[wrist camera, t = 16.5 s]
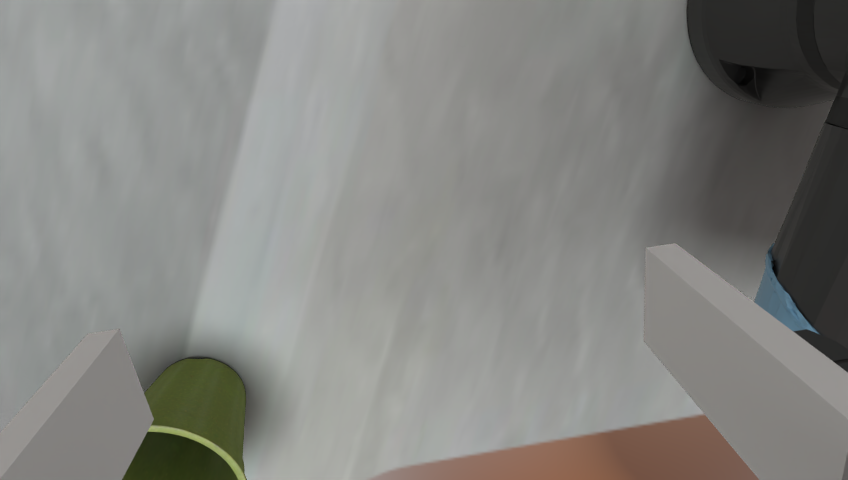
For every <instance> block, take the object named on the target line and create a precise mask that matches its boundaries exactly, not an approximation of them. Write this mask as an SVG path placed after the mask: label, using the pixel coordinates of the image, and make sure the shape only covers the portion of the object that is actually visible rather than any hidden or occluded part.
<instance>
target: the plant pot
mask: <svg viewBox="0 0 848 480" xmlns="http://www.w3.org/2000/svg"><path fill="white" fill-rule="evenodd" d="M144 394H145V397H146V400H147V402H148V405H149V408H150V410H151V413H152V415H153V418H154V420H153V422H152V424H151V426H150V428H149V430H148V432H147V434H146V435H145V437H144V439H143V441H142V443H141V445H140V447H139V449H138V450H137V452H136V454H135V456H134V458H133V460H132V462H131V464H130V465H129V467H128V469H127V471H126V473H125V475H124V477H123V479H122V480H247V479H246V477H245V474H244V462H243V458H242V457H243V440H244V421H245V406H246V393H245V388H244V384H243V382H242V380H241V379H240V377H239V376H238V375H237V374H236V372H235V371H233V370H232V369H231V368H230V367H228V366H227V365H225V364H223V363H221V362H218V361H216V360H212V359H184V360H181V361H179V362H177V363H174V364H172V365H171V366H169V367H168V368H167V369H166V370H165V371H164V372H163V373H162V374H161V375H160V376H159V377H158V378H157V379H156V381H155V382H154V383H153V384H152V385H151V386H150V387H149V388H148V390H147V391H146V392H145V393H144Z"/></svg>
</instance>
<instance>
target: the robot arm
mask: <svg viewBox="0 0 848 480" xmlns="http://www.w3.org/2000/svg"><path fill="white" fill-rule="evenodd" d="M688 29H689V36H690V40H691V44H692V48H693V51H694V53H695V56H696V58H697V60H698V62H699V64H700V66H701V68H702V69H703V71H704V72H705V74H706V75H707V76H708V77H709V79H710V80H711V81H712V82H713V83H714V84H715V85H716V86H718V87H719V88H720V89H721V90H723V91H724V92H726V93H727V94H729V95H731V96H733V97H735V98H738V99H740V100H743V101H747V102H751V103H755V104H760V105H764V106H769V107H779V108H792V107H802V106H808V105H812V104H817V103H821V102H826V101H830V100H834V99H835V100H834V102H833V105H832V107H831V110H830V112H829V115H828V117H827V120H826V121H825V122H824V125H823V127H822V130H821V132H820V135H819V137H818V140H817V142H816V145H815V147H814V150H813V152H812V155H811V157H810V159H809V162H808V164H807V167H806V169H805V172H804V174H803V177H802V179H801V182H800V184H799V187H798V189H797V192H796V194H795V196H794V199H793V201H792V204H791V206H790V209H789V211H788V214H787V216H786V218H785V221H784V223H783V225H782V228H781V230H780V232H779V234H778V237H777V239H776V241H775V243H773V244H772V245H771V247H770V248H769V251H768V253H767V255H766V260H765V264H766V268H765V271H764V274H763V277H762V281H761V284H760V287H759V289H758V292H757V295H756V298H755V301H754V302H753V301H752V300H751V299H749V298H748V297H747V296H745V295H744V294H743V293H741V292H740V291H739V290H737V289H736V288H735V287H733V286H732V285H731V284H729V283H728V282H727V281H725V280H724V279H723V278H721V277H720V276H719V275H717V274H716V273H715V272H713V271H712V270H711V269H709V268H708V267H707V266H705V265H704V264H703V263H701V262H700V261H699V260H697V259H696V258H695V257H693V256H692V255H691V254H689V253H688V252H687V251H685V250H684V249H683V248H681V247H680V246H679V245H677V244H676V243H672V244H666V245H659V246H653V247H646V254H645V301H644V342H645V343H646V345H647V346H648V347H649V348H650V349H651V351H652V352H653V353H654V354H655V355H656V357H657V358H658V359H659V360H660V361H661V363H662V364H663V365H664V366H665V367H666V369H667V370H668V371H669V372H670V373H671V374H672V376H673V377H674V378H675V379H676V380H677V382H678V383H679V384H680V385H681V386H682V388H683V389H684V390H685V391H686V392H687V394H688V395H689V396H690V397H691V398H692V400H693V401H694V402H695V403H696V404H697V406H698V407H699V408H700V409H701V410H702V412H703V413H704V414H705V415H706V416H707V418H708V419H709V420H710V421H711V422H712V423H713V425H714V426H715V427H716V428H717V430H718V431H719V432H720V433H721V434H722V435H723V437H724V438H725V439H726V440H727V442H728V443H729V444H730V445H731V446H732V447H733V449H734V450H735V451H736V452H737V453H738V455H739V456H740V457H741V458H742V459H743V461H744V462H745V463H746V464H747V465H748V467H749V468H750V469H751V470H752V471H753V472H754V474H755V475H756V476H757V477H758V478H759V480H848V0H688ZM153 420H154V418H153V415H152V413H151V410H150V408H149V405H148V402H147V400H146V397H145V394H144V392H143V389H142V387H141V384H140V381H139V379H138V376H137V373H136V371H135V368H134V366H133V363H132V360H131V358H130V355H129V352H128V350H127V347H126V345H125V342H124V339H123V337H122V334H121V331H120V329H115V330H109V331H102V332H96V333H89V334H87V335H86V336H85V337H84V339H83V340H82V341H81V342H80V343H79V344H78V345H77V346H76V348H75V349H74V350H73V351H72V352H71V353H70V354H69V356H68V357H67V358H66V359H65V360H64V361H63V362H62V363H61V365H60V366H59V367H58V368H57V369H56V370H55V371H54V373H53V374H52V375H51V376H50V377H49V378H48V379H47V380H46V382H45V383H44V384H43V385H42V386H41V387H40V388H39V390H38V391H37V392H36V393H35V394H34V395H33V396H32V397H31V399H30V400H29V401H28V402H27V403H26V404H25V405H24V406H23V408H22V409H21V410H20V411H19V412H18V413H17V414H16V416H15V417H14V418H13V419H12V420H11V421H10V422H9V423H8V425H7V426H6V427H5V428H4V429H3V430H2V431H1V433H0V480H122V479H123V477H124V475H125V473H126V471H127V469H128V467H129V465H130V464H131V462H132V460H133V458H134V456H135V454H136V452H137V450H138V449H139V447H140V445H141V443H142V441H143V439H144V437H145V435H146V434H147V432H148V430H149V428H150V426H151V424H152V422H153Z"/></svg>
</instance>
